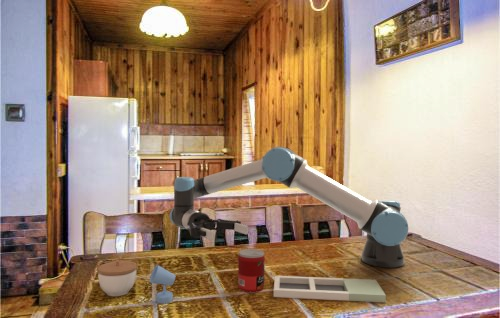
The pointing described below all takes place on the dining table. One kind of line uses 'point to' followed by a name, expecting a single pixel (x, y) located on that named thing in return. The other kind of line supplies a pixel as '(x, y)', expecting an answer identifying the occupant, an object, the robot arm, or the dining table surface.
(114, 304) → the dining table surface
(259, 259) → the canned food
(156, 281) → the spotlight
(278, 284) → the board
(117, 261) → the lidded jar
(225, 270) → the dining table surface
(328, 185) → the robot arm
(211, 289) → the dining table surface
